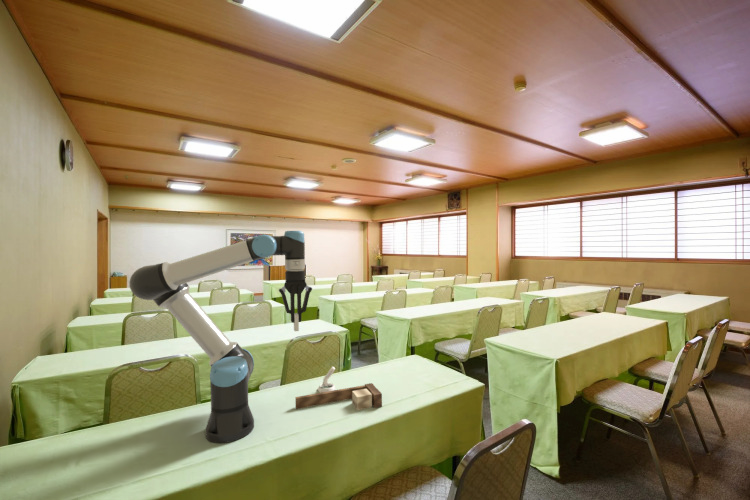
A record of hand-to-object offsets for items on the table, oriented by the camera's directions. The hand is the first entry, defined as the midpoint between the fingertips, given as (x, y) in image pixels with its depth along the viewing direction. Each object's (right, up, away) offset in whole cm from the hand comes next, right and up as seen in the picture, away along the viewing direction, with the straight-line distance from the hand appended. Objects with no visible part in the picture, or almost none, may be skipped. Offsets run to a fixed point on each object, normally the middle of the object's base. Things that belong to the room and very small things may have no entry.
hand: (296, 330), depth 134 cm
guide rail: (+17, -29, -2) cm, 34 cm away
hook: (+10, -29, +15) cm, 34 cm away
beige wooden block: (+26, -29, 0) cm, 39 cm away
